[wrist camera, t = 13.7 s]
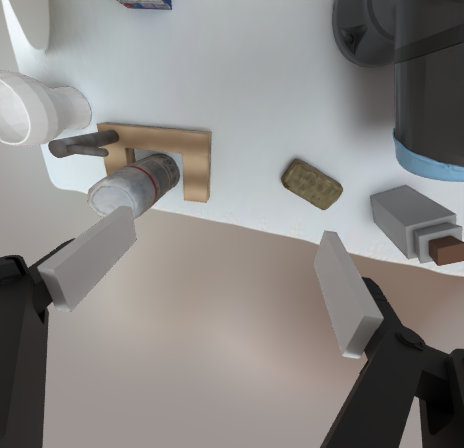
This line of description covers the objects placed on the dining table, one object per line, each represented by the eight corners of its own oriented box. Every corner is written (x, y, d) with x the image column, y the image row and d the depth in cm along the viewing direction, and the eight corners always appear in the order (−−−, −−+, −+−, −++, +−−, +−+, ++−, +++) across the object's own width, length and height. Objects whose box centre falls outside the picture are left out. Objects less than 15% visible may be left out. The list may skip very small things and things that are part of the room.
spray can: (142, 148, 48) (75, 175, 31) (180, 153, 48) (133, 183, 31) (146, 185, 53) (89, 227, 35) (180, 190, 52) (139, 235, 35)
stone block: (294, 155, 46) (298, 161, 41) (340, 182, 47) (348, 191, 43) (278, 179, 48) (280, 187, 44) (322, 204, 50) (328, 214, 46)
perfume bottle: (374, 222, 50) (424, 277, 35) (370, 195, 47) (423, 242, 32) (408, 213, 48) (478, 267, 33) (406, 185, 46) (481, 229, 30)
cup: (66, 140, 50) (-4, 154, 37) (37, 85, 45) (-56, 79, 32) (107, 130, 47) (48, 141, 34) (81, 71, 43) (1, 58, 30)
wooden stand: (107, 122, 47) (32, 132, 31) (211, 132, 45) (185, 148, 30) (119, 186, 53) (61, 220, 38) (209, 196, 52) (187, 236, 37)
